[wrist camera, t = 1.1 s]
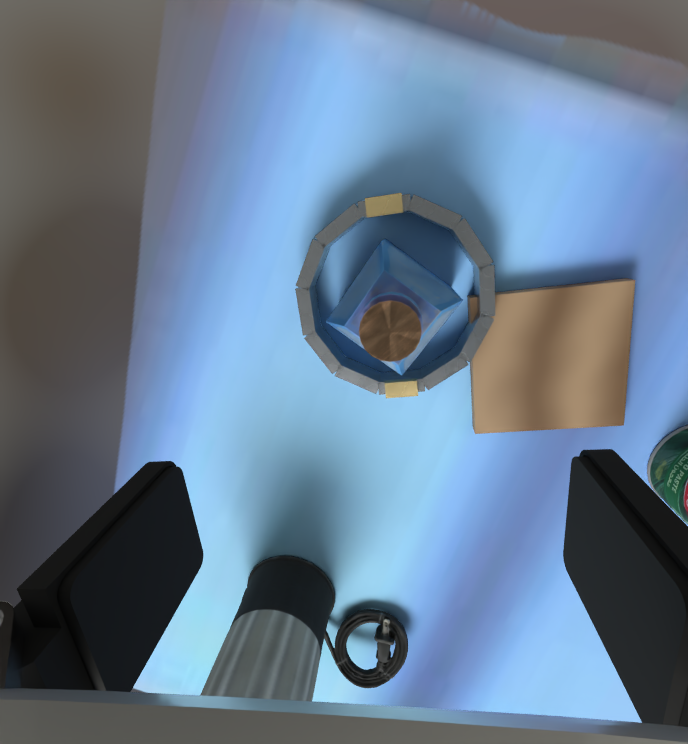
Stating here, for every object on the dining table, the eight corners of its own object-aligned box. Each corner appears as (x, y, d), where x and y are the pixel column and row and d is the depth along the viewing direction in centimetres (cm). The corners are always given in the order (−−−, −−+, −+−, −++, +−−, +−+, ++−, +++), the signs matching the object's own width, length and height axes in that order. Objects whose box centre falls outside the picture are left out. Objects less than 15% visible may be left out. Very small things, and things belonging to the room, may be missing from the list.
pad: (626, 278, 30) (635, 280, 29) (616, 418, 33) (623, 425, 32) (467, 295, 32) (469, 297, 30) (472, 427, 35) (475, 433, 34)
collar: (485, 184, 29) (494, 178, 26) (490, 376, 33) (498, 389, 30) (291, 213, 31) (280, 211, 28) (319, 389, 36) (312, 403, 33)
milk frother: (238, 555, 43) (159, 712, 29) (391, 545, 40) (386, 713, 26) (271, 658, 47) (217, 839, 33) (413, 655, 44) (418, 852, 30)
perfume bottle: (385, 238, 31) (376, 242, 20) (451, 287, 32) (479, 318, 20) (339, 305, 33) (307, 344, 22) (401, 350, 34) (401, 410, 22)
